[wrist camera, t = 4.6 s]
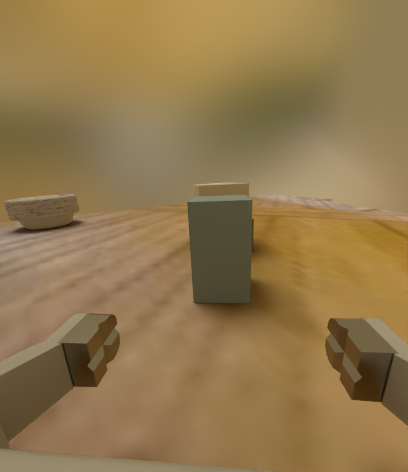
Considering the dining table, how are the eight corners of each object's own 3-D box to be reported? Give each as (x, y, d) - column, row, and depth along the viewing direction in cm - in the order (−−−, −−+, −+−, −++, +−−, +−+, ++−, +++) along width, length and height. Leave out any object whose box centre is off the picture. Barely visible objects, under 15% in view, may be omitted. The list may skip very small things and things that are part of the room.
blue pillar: (250, 303, 18) (252, 199, 16) (193, 302, 19) (187, 202, 16) (244, 277, 23) (245, 194, 21) (199, 277, 24) (195, 196, 21)
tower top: (248, 218, 30) (249, 183, 29) (200, 222, 29) (198, 185, 28) (234, 211, 37) (234, 182, 35) (194, 214, 36) (193, 184, 34)
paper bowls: (4, 229, 55) (-6, 199, 52) (66, 219, 67) (60, 193, 65) (25, 236, 46) (15, 200, 44) (92, 222, 59) (87, 194, 56)
